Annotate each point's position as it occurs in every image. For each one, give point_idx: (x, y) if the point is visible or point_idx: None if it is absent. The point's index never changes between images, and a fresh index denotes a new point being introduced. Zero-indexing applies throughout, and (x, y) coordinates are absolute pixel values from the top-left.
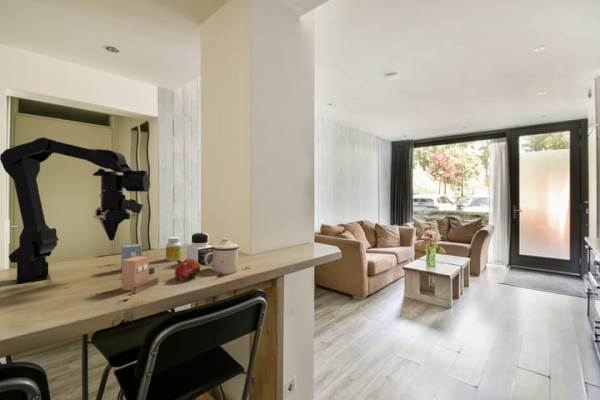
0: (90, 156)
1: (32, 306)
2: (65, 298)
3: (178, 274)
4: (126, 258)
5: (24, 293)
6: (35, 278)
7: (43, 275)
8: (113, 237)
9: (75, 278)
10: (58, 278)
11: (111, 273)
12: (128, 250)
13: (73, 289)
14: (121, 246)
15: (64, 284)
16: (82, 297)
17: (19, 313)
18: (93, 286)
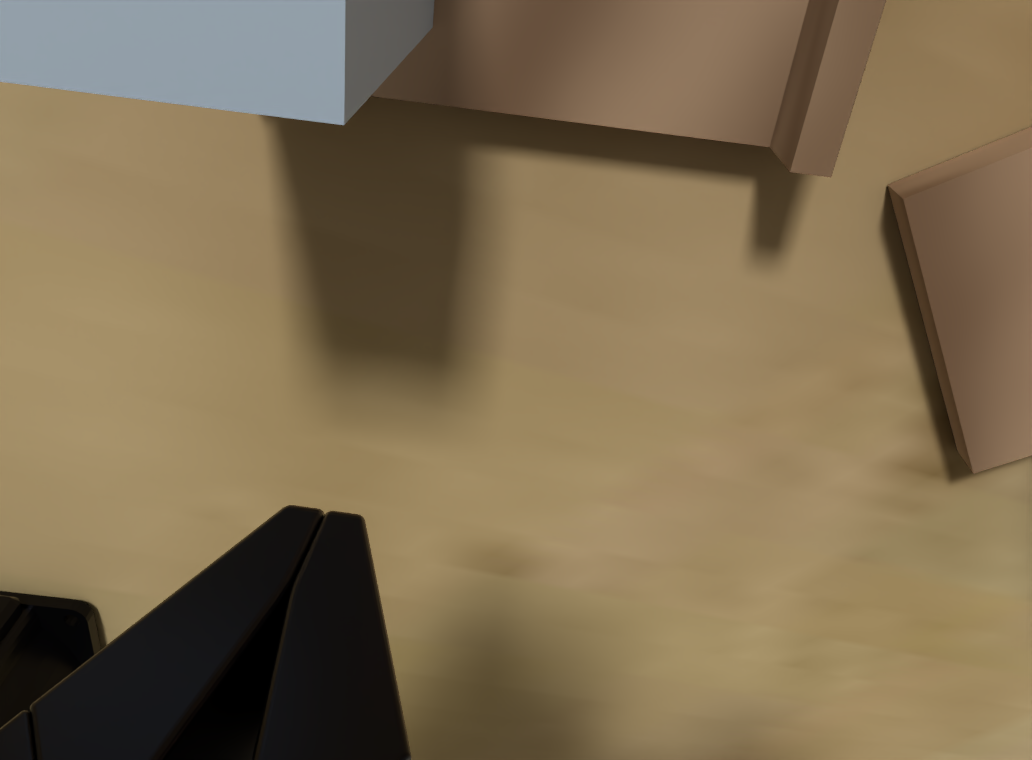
0: None
1: (789, 756)
2: (807, 629)
3: None
4: (397, 28)
5: (430, 736)
6: (76, 667)
7: (30, 631)
8: (370, 583)
9: (201, 446)
10: (100, 534)
11: (214, 113)
12: (367, 11)
13: (604, 545)
14: (19, 77)
15: (372, 550)
16: (905, 560)
17: None
18: (655, 423)
